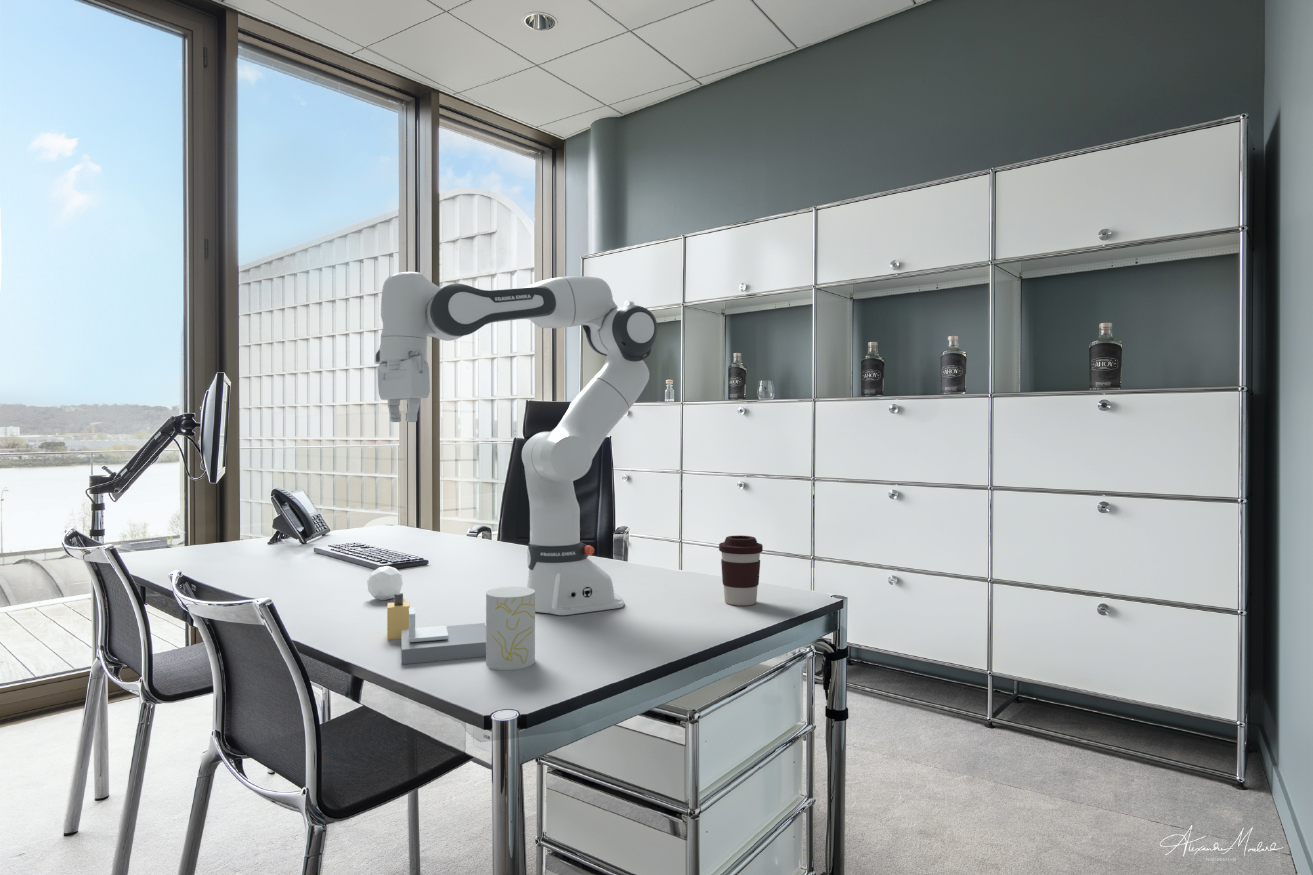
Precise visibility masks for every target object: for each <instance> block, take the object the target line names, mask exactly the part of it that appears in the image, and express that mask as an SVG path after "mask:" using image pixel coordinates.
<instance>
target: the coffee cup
mask: <svg viewBox="0 0 1313 875" xmlns="http://www.w3.org/2000/svg"><path fill="white" fill-rule="evenodd" d="M763 547H764V546H763V544H762V543H760V542H759V543H758V541H757V538H756V537H755V536H751V535H729V536H726V537H725V539H724V541H723V542H720V543H719V544H718V550H719V552H721V560H720V562H721V563H720V564H721V577H722V578H721V579H722V585H723V597H724V602H725V603H726V604H728V605H731V606H737V607H738V606H739V607H741V606H743V607H745V606H746V607H747V606H752V605H755V604H756V603H757V597H758V596H757V595H758V587H759V582H760V569H761V560H760V557H761V553H762V552H763V551H764V550H763V549H764V548H763Z"/></svg>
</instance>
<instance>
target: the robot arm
mask: <svg viewBox="0 0 1313 875" xmlns="http://www.w3.org/2000/svg"><path fill="white" fill-rule="evenodd" d="M380 298H381V303H380V317H381V321H382V330H381V333H380V344H379V349H378V350H377V352H376V353H375V358H374V362H375V364H377V365H378V366H377V387H378V388H377V390H378V394H379V398H380V400H382V401H387V409H388V412H389V421H390V422H391V423H400V422H401V420H402V413H400V405H401V401H404V400H405V401H406V404H407V410H406V413H405V421H406V422H408V423H416V422H417V421H418V412H419V410H420V406H421V399H427V398H429V396H430V392H431V382H430V368H429V367H430V366H429V363H428V360H427V358H428V354H427V353H428V349H427V348H428V337H430V338H433V339H437V340H441V341H445V342H446V341H455V340H458V339H460V338H463V337H464V336H467V335H471V334H473V333H475V332H477V331H478V330H480V329H481V328H483V327H484V326H486V325H488V324H491V323H499V322H500V323H501V322H508V321H517V320H529V321H531V322H532V324H534V325H535V326H537V327H538V328H541V329H542V328H543V329H562V328H563V329H564V328H571V327H579V326H582V329H583V331H584V333H585V336H586V340H587V342H588V344H589V347H590V348H591V349H592V350H593V351H594V352H595V353H596V354H598V355H602V356H604V357H605V356H606V358H605V361H604V364H603V366H602V367H601V369H600V370H599V371H598V372H597V373H596V374H595V375H594V376H593V378H592V379H590V381H589V382H588V383H587V384H586V385H585V386H584V387H583V388H582V389H581V391H580V392H579V393H578V394H577V395H576V396H575V397H574V398H573V399H572V401H570V403H569V406H568V407H567V408H568V409H567V410H566V412H565V413H564V414H563V416H562V418H561V420H560V421H559V422H558V424H557V426H555V428H553V429H552V430H550V431H541V432H538V433H536V434H534V435H533V436H531V437H530V438H529V439H528V440H527V441H526V442H525V443H524V445H523V447H522V449H521V460H522V463H523V466H524V475H525V477H524V478H525V482H526V490H527V496H528V501H529V502H528V503H529V542H528V545H527V568H528V577H527V578H528V579H527V586H526V588H531V589H534V590H535V613H543V614H551V615H557V616H569V615H576V614H583V613H591V612H599V611H607V610H613V609H620V608H623V607H624V605H625V603H624V602H625V601H624V599H623V597H622V596H621V595H620V594H618V593H615V590H614V586H613V580H612V578H611V576H610V575H609V574H608V573H607V572H606V571H605V570H604V569H603V568H601V567H599V565H597V564H596V563H594V562H593V561H592V560H591V559H589V558H588V557H589V556H592V555H593V554H594V553H595V548H594V547H593V546H591V545H590V544H589V545H588V544H585V543H583V542H582V541H580V540H581V536H580V533H581V532H580V531H581V526H580V525H581V524H580V522H581V521H580V518H581V516H580V515H581V514H580V513H581V512H580V511H581V509H580V504H579V502H578V500H577V496H576V492H575V486H574V481H576V480H579V479H580V478H582V477H584V476H585V475H586V474H587V473H588V472H589V470H590V469H591V467H592V463H593V459H594V458H595V456H596V454H597V452H598V450H599V449H600V447H601V445H602V443H603V442H604V441H605V439H606V437H608V435H609V434H610V433H611V431H612V430H613V429H614V427H615V426H616V425H617V424H618V423H619V422H620V420H621V419H622V418H623V417H625V414H626V413H627V412H628V411H629V410H630V409H631V408H632V406H633V405H634V404H635V403H636V402H637V400H638V398H639V397H640V396H641V395H642V393H643V391H644V389H645V387H646V386H647V384H648V382H649V380H650V371H649V368H648V366H647V364H646V363H645V361H644V360H645V359H647V358H648V357H649V356H650V355H651V351H652V347H653V345H654V343H655V341H656V338H657V335H658V321H657V319H656V317H655V315H654V314H653V313H652V312H651V311H650V310H649V309H648V308H645V307H643V306H640V305H635V304H629V305H626V306H625V305H624V306H618V305H617V304H616V303H615V301H614V300H613V292H612V289H611V287H610V286H609V283H607V281H605V280H604V279H602V278H600V277H597V276H596V277H595V276H584V275H583V276H582V275H581V276H580V275H578V276H577V275H575V276H572V275H571V276H570V275H569V276H559V277H553V278H549V279H548V278H547V279H544V280H540V281H537V282H534V283H532V284H529V285H528V286H525V287H517V288H506V289H505V288H504V289H493V290H490V289H488V290H486V289H485V290H484V289H482V288H481V289H480V288H476V287H473V286H471V285H468V284H465V283H464V284H463V283H451V284H448V285H445V286H443V287H442V288H441V287H440V286H438V285H436V284H435V283H433V282H432V281H430V280H429V279H428V278H427V277H426V276H425V275H424V274H423V273H421V272H417V271H416V272H415V271H403V272H397V273H394V274H392V275H390V276H388V277H387V278H386V280H384V282H383V286H382V291H381V297H380Z"/></svg>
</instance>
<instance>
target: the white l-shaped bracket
mask: <svg viewBox="0 0 1313 875" xmlns="http://www.w3.org/2000/svg"><path fill="white" fill-rule="evenodd" d="M446 626H447V625H436V626H435V625H434V626H424V627H423V626H421V627H416V607H413V606H412V607H411V606H410V608H409V642H419V641H430V640H442V639H448V632H447V627H446Z"/></svg>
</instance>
